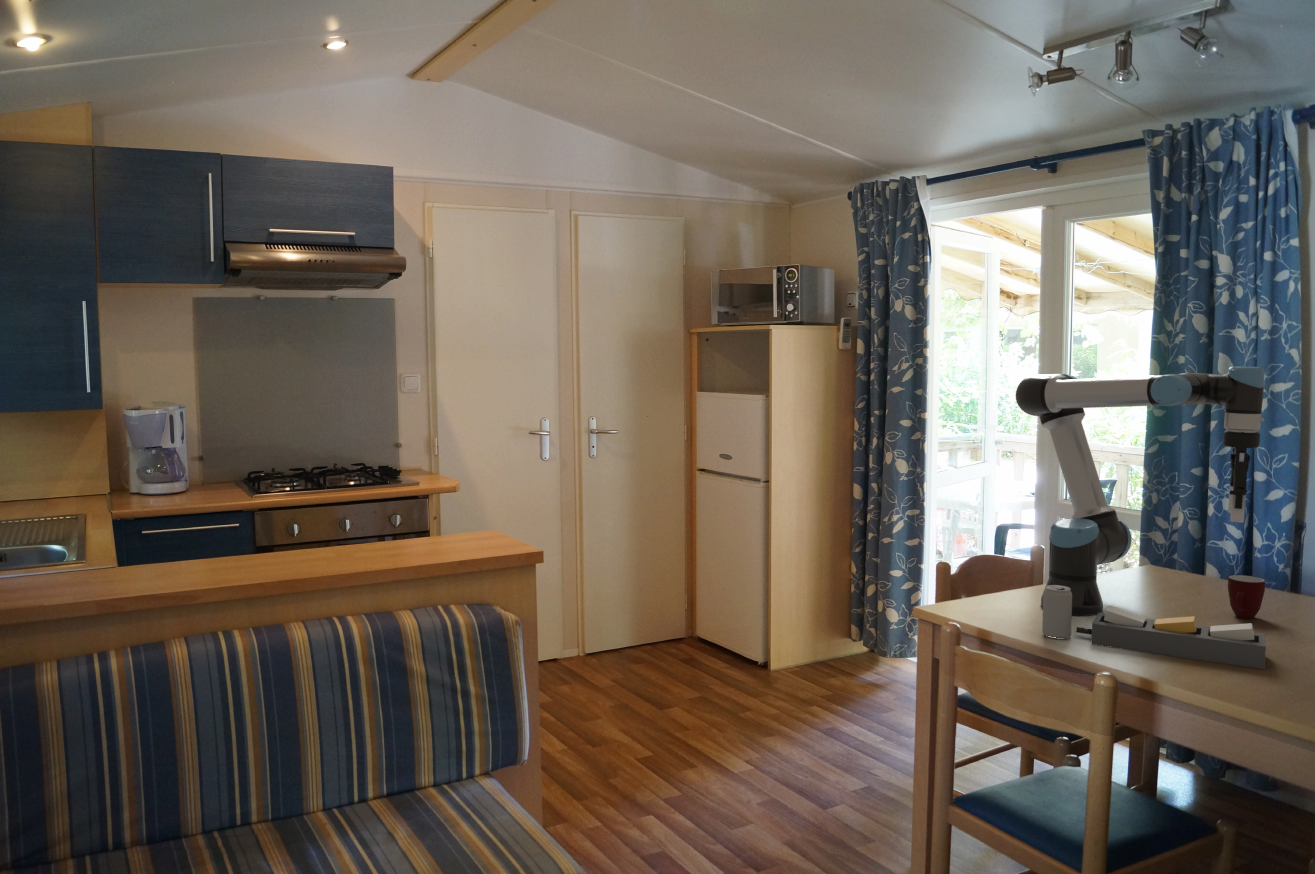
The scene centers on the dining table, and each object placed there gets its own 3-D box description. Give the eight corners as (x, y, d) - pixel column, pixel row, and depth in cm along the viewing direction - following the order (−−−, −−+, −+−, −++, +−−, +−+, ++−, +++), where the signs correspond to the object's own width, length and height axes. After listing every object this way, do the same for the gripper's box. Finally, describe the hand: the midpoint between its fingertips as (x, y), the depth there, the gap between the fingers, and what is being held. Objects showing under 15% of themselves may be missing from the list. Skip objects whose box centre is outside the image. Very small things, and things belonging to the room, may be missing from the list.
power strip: (1072, 641, 221) (1073, 620, 220) (1079, 630, 230) (1080, 610, 230) (1264, 669, 200) (1265, 646, 200) (1264, 655, 210) (1265, 633, 209)
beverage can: (1058, 641, 221) (1060, 591, 220) (1036, 634, 226) (1037, 586, 225) (1076, 638, 224) (1078, 588, 223) (1054, 631, 229) (1055, 583, 228)
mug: (1260, 625, 233) (1262, 585, 233) (1222, 619, 238) (1224, 581, 238) (1264, 616, 242) (1266, 578, 241) (1228, 611, 247) (1230, 573, 246)
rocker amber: (1156, 634, 214) (1154, 624, 214) (1158, 629, 218) (1155, 619, 218) (1195, 632, 210) (1193, 621, 210) (1197, 626, 214) (1194, 616, 214)
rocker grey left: (1103, 619, 220) (1106, 610, 219) (1106, 614, 224) (1109, 605, 223) (1140, 632, 216) (1143, 622, 215) (1142, 627, 220) (1145, 617, 219)
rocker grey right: (1212, 642, 208) (1209, 631, 208) (1213, 636, 212) (1210, 625, 212) (1254, 639, 204) (1251, 628, 204) (1254, 633, 208) (1251, 623, 208)
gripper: (1264, 435, 213) (1257, 527, 216) (1256, 427, 235) (1250, 510, 237) (1225, 433, 217) (1219, 524, 219) (1222, 425, 239) (1216, 508, 241)
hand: (1235, 517), depth 228 cm, fingers open, 13 cm apart
